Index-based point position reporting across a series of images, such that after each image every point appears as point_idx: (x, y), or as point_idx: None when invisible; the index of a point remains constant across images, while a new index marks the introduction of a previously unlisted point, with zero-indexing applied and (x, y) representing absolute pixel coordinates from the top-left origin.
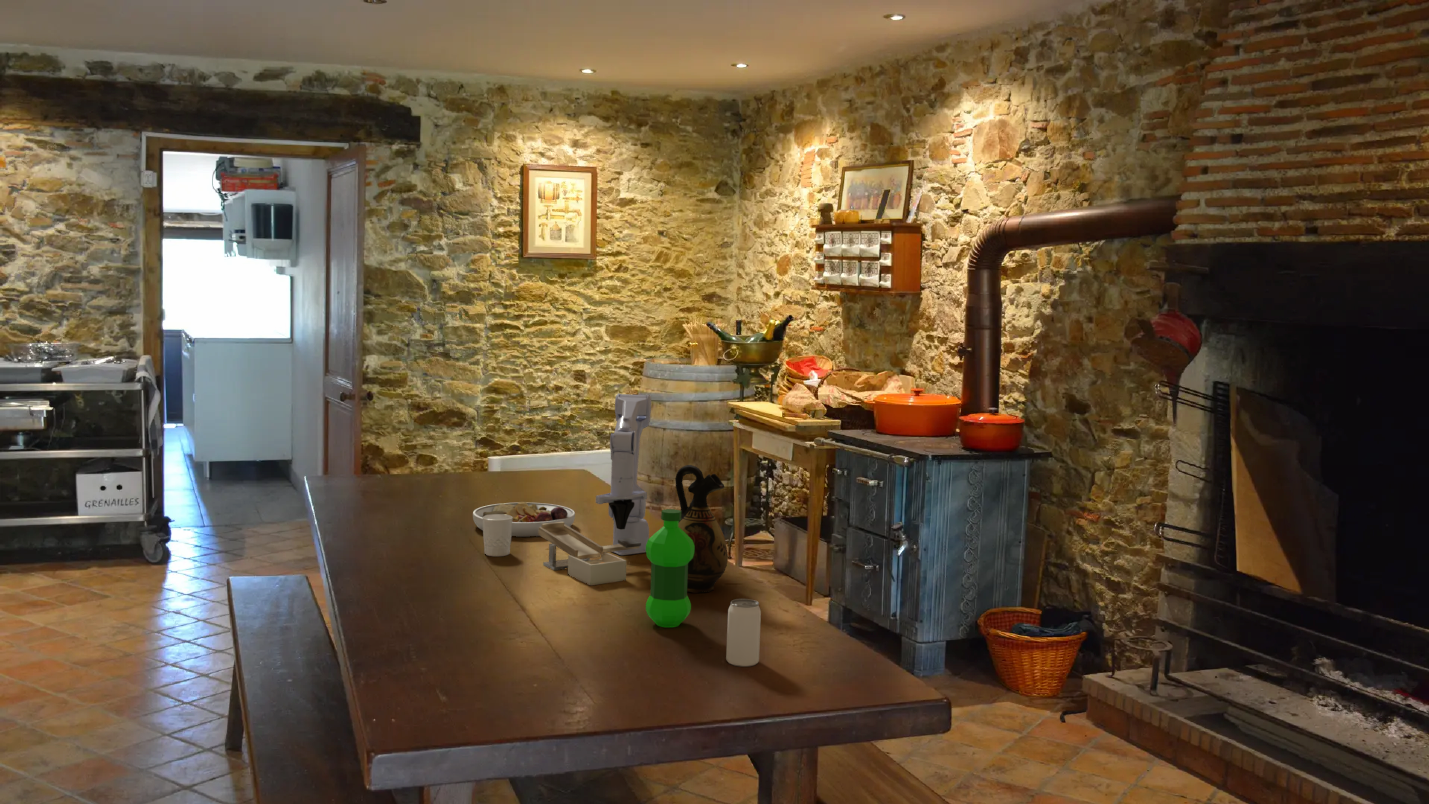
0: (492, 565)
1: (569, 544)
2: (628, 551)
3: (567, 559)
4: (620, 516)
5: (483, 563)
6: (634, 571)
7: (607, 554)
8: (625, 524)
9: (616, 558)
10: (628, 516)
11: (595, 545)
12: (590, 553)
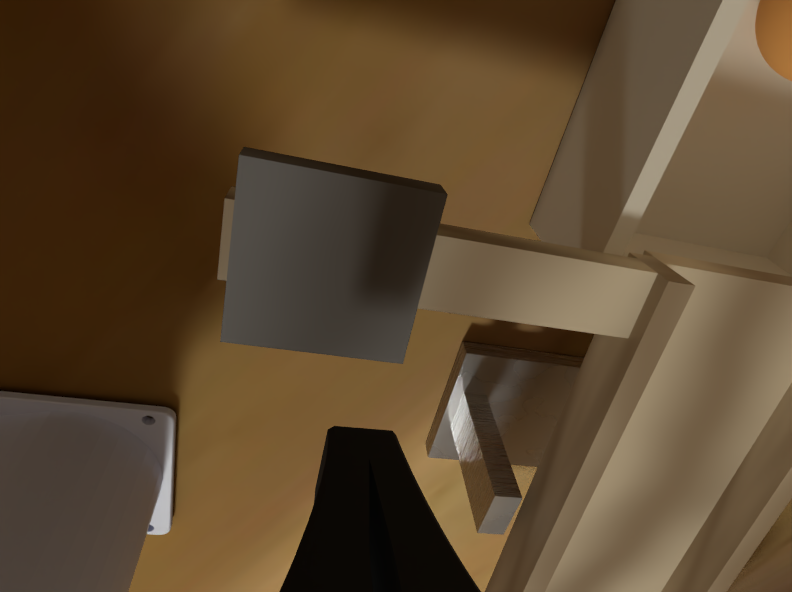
0: (769, 547)
1: (661, 498)
2: (100, 424)
3: (533, 461)
4: (471, 589)
5: (758, 576)
6: (382, 39)
7: (646, 199)
8: (339, 465)
9: (733, 18)
10: (299, 567)
11: (652, 359)
12: (728, 292)
